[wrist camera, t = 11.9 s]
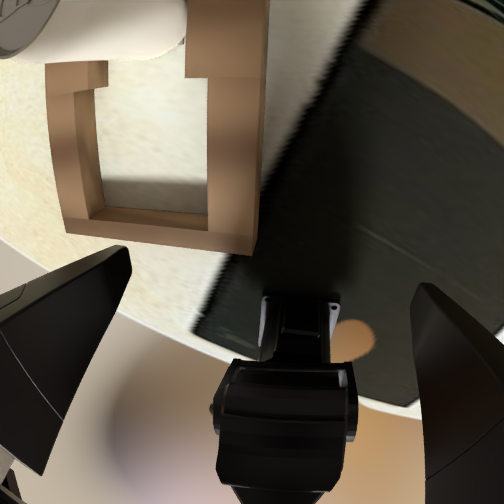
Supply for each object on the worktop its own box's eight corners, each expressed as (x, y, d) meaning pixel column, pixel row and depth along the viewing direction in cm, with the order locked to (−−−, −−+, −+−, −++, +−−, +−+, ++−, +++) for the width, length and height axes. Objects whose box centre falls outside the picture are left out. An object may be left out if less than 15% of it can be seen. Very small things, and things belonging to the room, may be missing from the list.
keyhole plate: (257, 238, 23) (251, 256, 21) (82, 220, 25) (66, 232, 23) (272, -58, 12) (267, -73, 10) (71, -18, 14) (51, -22, 11)
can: (193, 57, 17) (69, 46, 7) (110, 66, 18) (-26, 85, 7) (199, -27, 13) (94, -100, 3) (115, -11, 14) (-12, -36, 4)
